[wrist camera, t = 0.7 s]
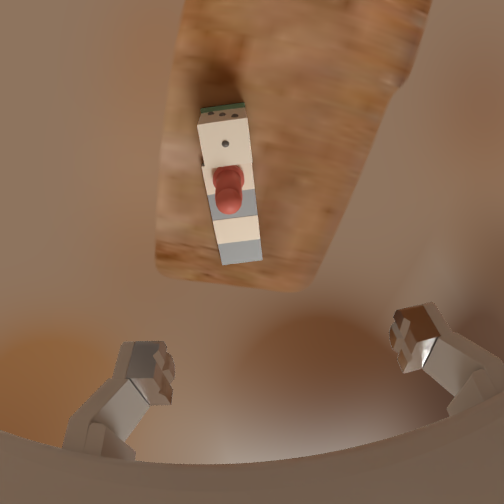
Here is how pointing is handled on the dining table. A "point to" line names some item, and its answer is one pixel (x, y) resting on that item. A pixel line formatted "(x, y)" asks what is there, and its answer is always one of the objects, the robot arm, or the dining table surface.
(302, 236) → the dining table surface
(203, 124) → the die
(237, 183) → the pawn
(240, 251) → the board
